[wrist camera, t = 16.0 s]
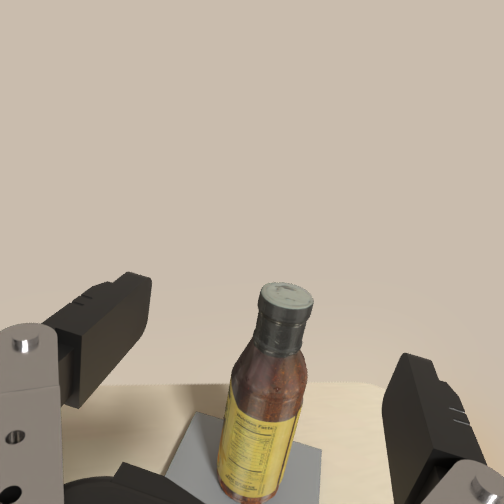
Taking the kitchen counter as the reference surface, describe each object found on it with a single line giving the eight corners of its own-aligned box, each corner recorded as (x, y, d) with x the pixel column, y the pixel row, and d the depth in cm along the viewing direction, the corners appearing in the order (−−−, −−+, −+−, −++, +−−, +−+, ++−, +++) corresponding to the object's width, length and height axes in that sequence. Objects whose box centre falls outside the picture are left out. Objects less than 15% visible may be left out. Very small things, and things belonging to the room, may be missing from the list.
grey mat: (145, 521, 32) (146, 513, 32) (195, 418, 43) (196, 411, 43) (312, 580, 30) (315, 572, 30) (319, 456, 42) (321, 449, 41)
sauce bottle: (245, 440, 41) (284, 266, 34) (293, 482, 37) (347, 298, 30) (197, 477, 36) (231, 283, 29) (247, 529, 32) (299, 323, 25)
